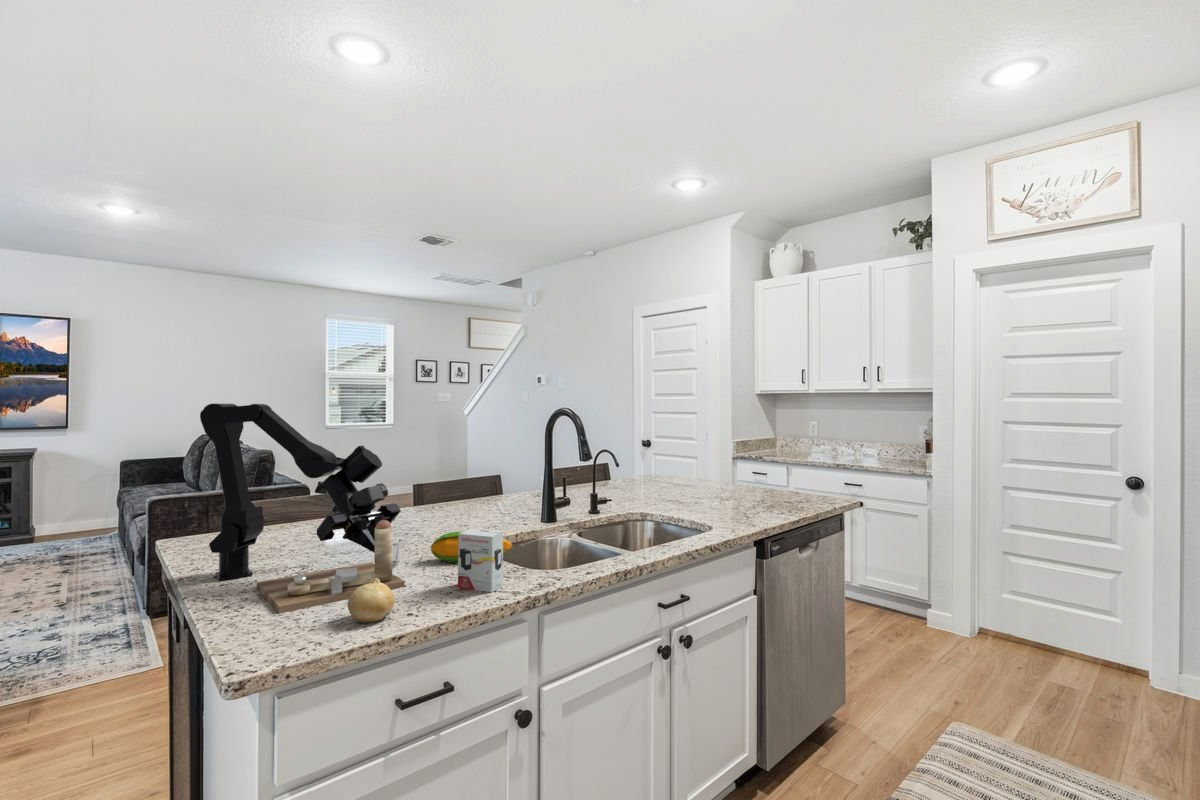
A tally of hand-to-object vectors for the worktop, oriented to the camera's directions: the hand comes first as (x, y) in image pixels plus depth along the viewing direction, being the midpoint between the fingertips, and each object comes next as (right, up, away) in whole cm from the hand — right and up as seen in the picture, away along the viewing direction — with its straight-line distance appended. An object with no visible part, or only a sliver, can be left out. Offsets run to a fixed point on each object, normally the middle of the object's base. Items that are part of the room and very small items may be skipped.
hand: (379, 551), depth 126 cm
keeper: (-6, -6, -9) cm, 13 cm away
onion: (+6, -7, -21) cm, 23 cm away
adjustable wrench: (-6, -8, +25) cm, 27 cm away
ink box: (+23, -7, -3) cm, 24 cm away
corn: (+16, -8, +19) cm, 26 cm away
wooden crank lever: (-5, -6, -6) cm, 10 cm away
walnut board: (-9, -7, -3) cm, 12 cm away
